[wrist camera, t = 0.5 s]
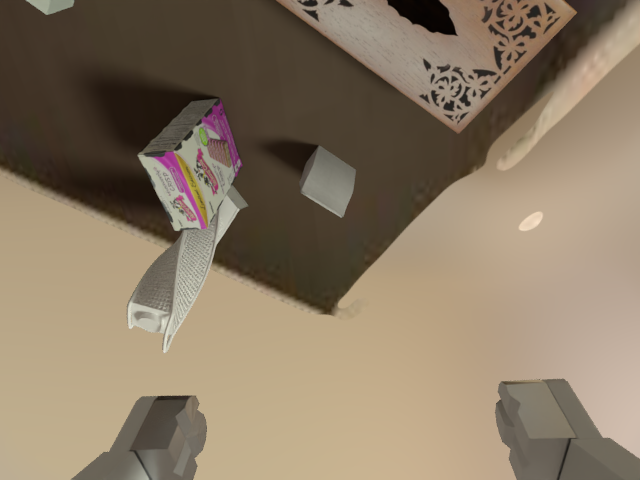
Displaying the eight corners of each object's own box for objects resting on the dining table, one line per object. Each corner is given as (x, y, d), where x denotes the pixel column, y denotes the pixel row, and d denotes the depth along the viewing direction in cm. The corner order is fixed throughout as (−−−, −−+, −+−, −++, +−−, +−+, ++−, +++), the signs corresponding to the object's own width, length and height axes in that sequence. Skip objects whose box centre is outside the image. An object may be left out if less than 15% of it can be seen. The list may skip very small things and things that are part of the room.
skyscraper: (253, 210, 68) (192, 349, 47) (217, 225, 72) (146, 360, 51) (223, 172, 64) (141, 305, 43) (187, 189, 67) (94, 321, 46)
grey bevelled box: (318, 145, 58) (308, 181, 51) (355, 169, 60) (350, 208, 53) (305, 162, 61) (293, 200, 53) (341, 186, 62) (335, 225, 55)
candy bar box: (245, 165, 62) (209, 231, 50) (216, 168, 63) (173, 233, 51) (222, 95, 55) (173, 151, 43) (189, 99, 56) (133, 155, 44)
